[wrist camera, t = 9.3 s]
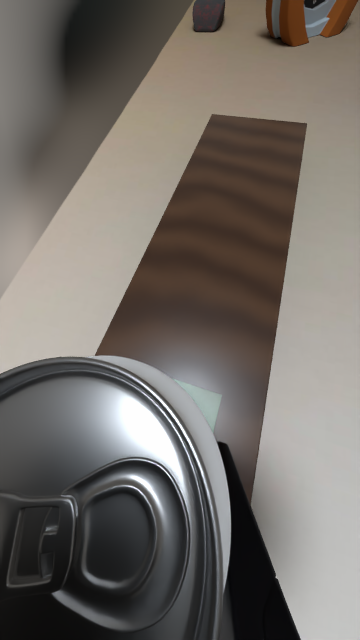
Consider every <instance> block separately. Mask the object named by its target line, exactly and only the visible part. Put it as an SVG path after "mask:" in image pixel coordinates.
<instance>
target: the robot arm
mask: <svg viewBox="0 0 360 640" xmlns="http://www.w3.org/2000/svg"><path fill="white" fill-rule="evenodd" d="M217 445H218V448H219V451H220V454H221V457H222V461H223V465H224V469H225V474H226V479H227V485H228V491H229V499H230V512H231V543H230V556H229V565H228V572H227V578H226V583H225V588H224V593H223V610H222V623H221V632H220V640H301V639H300V637H299V634H298V631H297V629H296V626H295V624H294V621H293V618H292V616H291V613H290V611H289V608H288V606H287V603H286V600H285V598H284V595H283V592H282V589H281V587H280V584H279V581H278V579H277V578H275V577H276V573H275V571H274V568H273V565H272V563H271V560H270V557H269V554H268V552H267V549H266V546H265V544H264V541H263V538H262V535H261V533H260V530H259V527H258V525H257V522H256V519H255V516H254V514H253V511H252V508H251V506H250V503H249V500H248V497H247V495H246V492H245V489H244V487H243V484H242V481H241V478H240V476H239V473H238V470H237V468H236V465H235V462H234V459H233V457H232V454H231V451H230V449H229V446H228V445H227V444H226V443H223V442H221V441H217Z"/></svg>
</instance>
